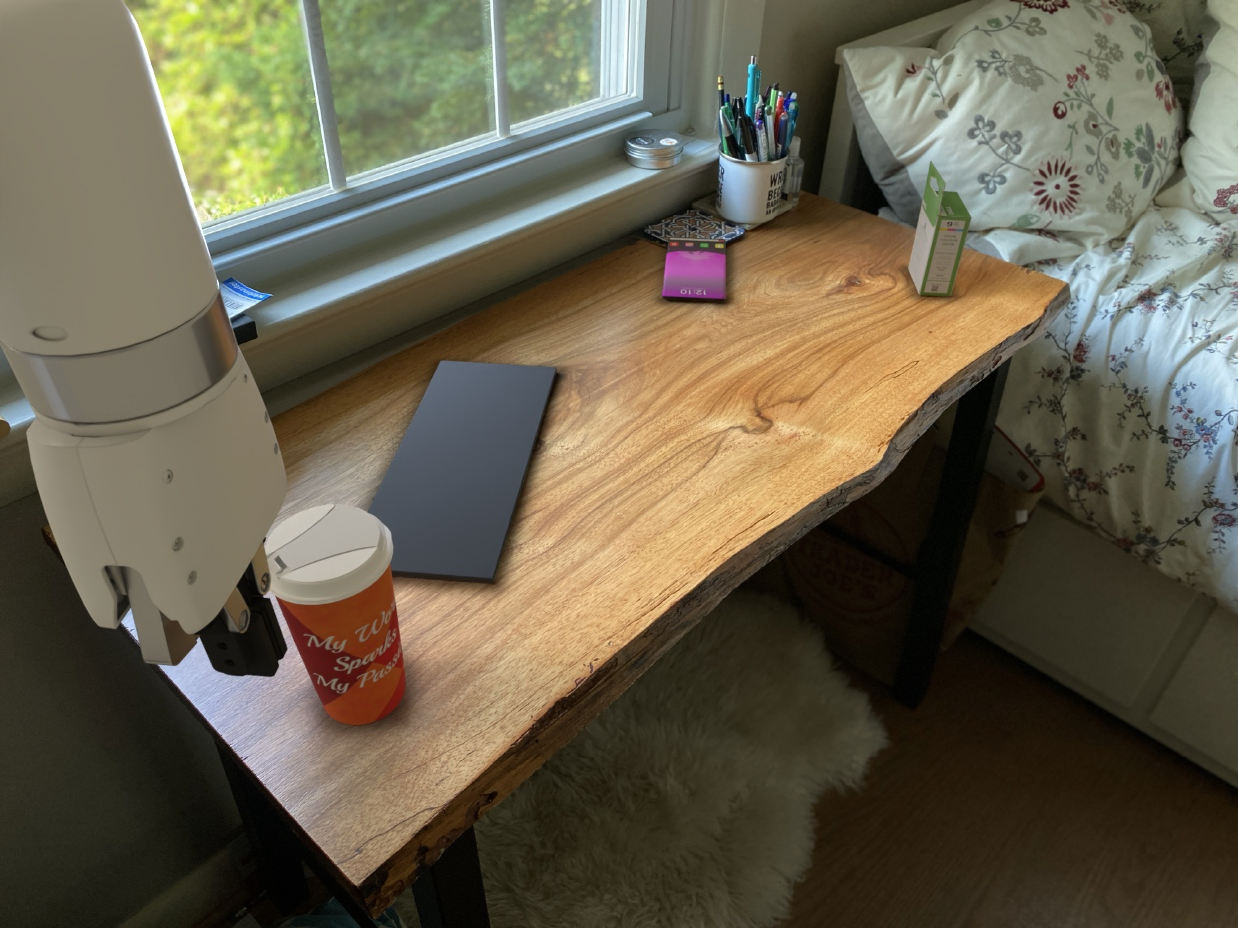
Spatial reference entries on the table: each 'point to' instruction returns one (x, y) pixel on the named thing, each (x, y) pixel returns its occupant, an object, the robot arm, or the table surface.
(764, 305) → the table surface
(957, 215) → the ink box
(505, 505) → the mat
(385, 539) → the paper cup
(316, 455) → the table surface
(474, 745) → the table surface
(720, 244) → the smartphone
